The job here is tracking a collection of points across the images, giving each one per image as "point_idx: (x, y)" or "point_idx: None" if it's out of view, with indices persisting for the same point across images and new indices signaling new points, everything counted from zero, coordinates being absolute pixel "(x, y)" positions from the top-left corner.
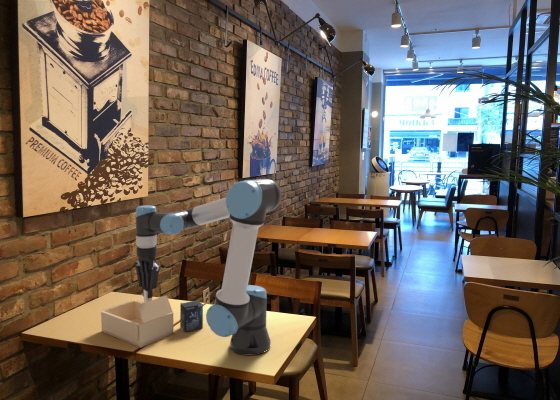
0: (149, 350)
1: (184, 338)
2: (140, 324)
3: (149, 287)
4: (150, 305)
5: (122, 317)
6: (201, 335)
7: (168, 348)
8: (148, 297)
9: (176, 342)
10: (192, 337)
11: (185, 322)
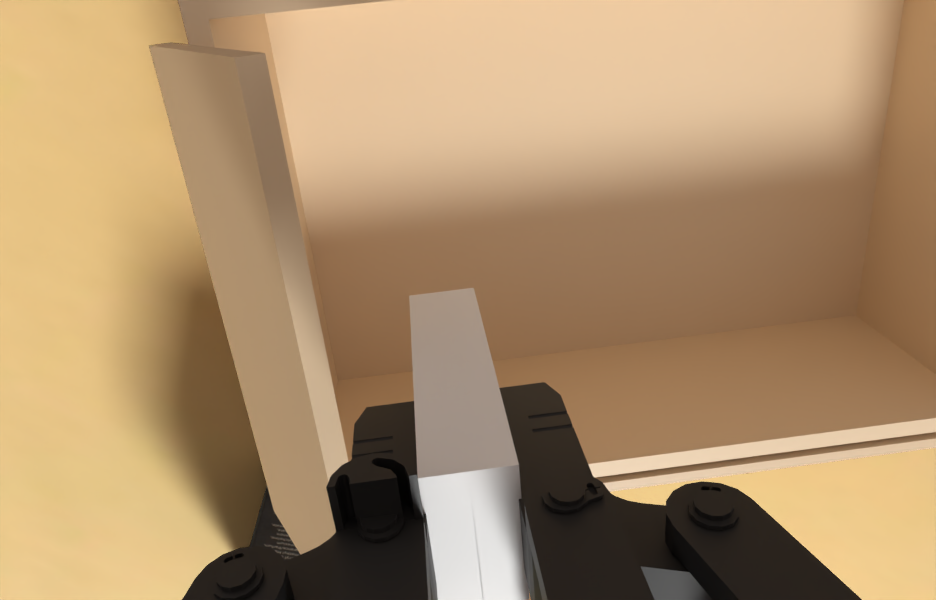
0: (126, 17)
1: (164, 387)
2: (686, 272)
3: (275, 586)
4: (267, 319)
5: (910, 196)
6: (127, 504)
7: (51, 177)
8: (392, 412)
9: (131, 298)
10: (138, 440)
11: (258, 517)
